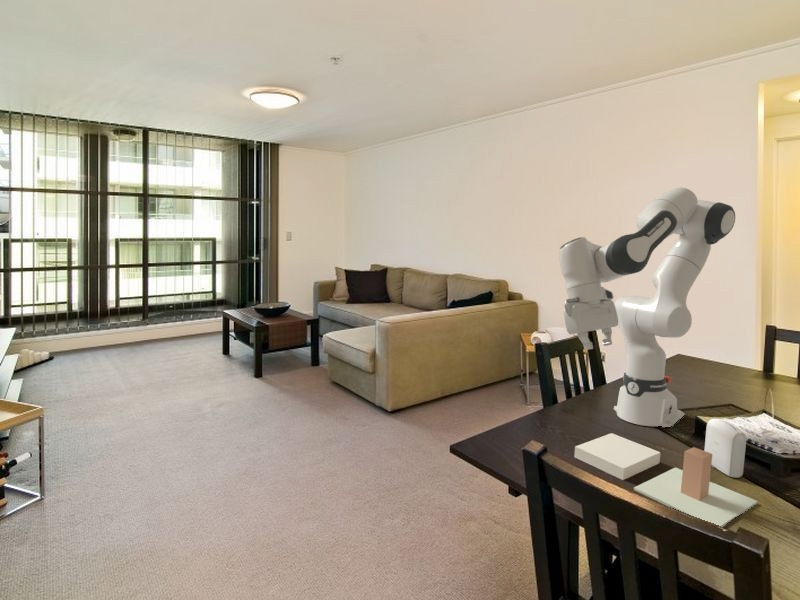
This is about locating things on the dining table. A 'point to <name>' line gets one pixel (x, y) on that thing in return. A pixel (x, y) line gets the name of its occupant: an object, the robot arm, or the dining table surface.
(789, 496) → the dining table surface
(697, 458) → the block
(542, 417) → the dining table surface
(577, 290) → the robot arm
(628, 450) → the block
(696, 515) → the mat
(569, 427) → the dining table surface
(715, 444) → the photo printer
